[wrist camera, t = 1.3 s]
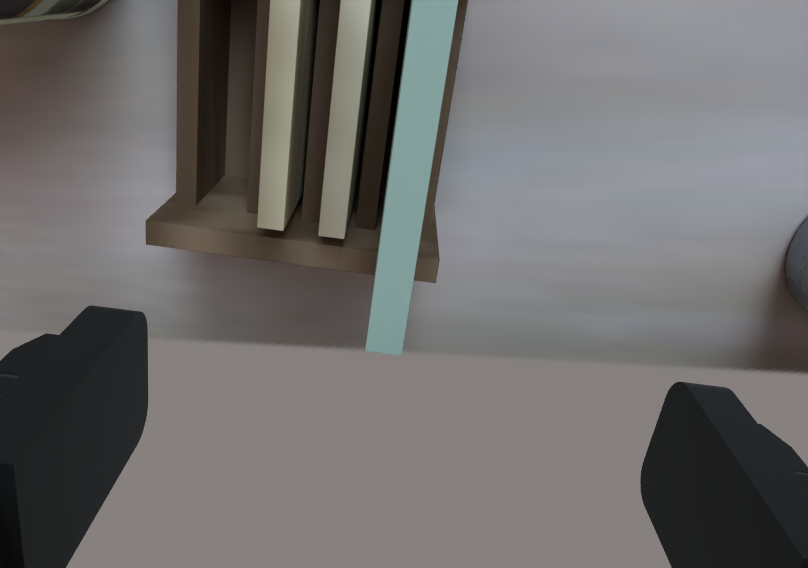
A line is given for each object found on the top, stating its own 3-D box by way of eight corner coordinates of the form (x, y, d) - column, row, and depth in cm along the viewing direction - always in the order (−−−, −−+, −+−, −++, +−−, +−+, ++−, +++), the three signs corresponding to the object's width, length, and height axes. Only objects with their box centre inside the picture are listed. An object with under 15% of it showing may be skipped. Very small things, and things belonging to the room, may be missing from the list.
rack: (474, -49, 37) (494, -57, 28) (430, 217, 43) (435, 282, 34) (210, -90, 36) (142, -112, 27) (203, 186, 42) (146, 244, 33)
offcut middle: (383, -21, 37) (373, -20, 27) (359, 180, 41) (344, 239, 32) (360, -25, 37) (343, -25, 27) (339, 177, 41) (318, 235, 32)
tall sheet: (435, -13, 37) (458, -2, 18) (406, 187, 41) (401, 355, 23) (413, -16, 37) (413, -9, 18) (386, 184, 41) (365, 350, 23)
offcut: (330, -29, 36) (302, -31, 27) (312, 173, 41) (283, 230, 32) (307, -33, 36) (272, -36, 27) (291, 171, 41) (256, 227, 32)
